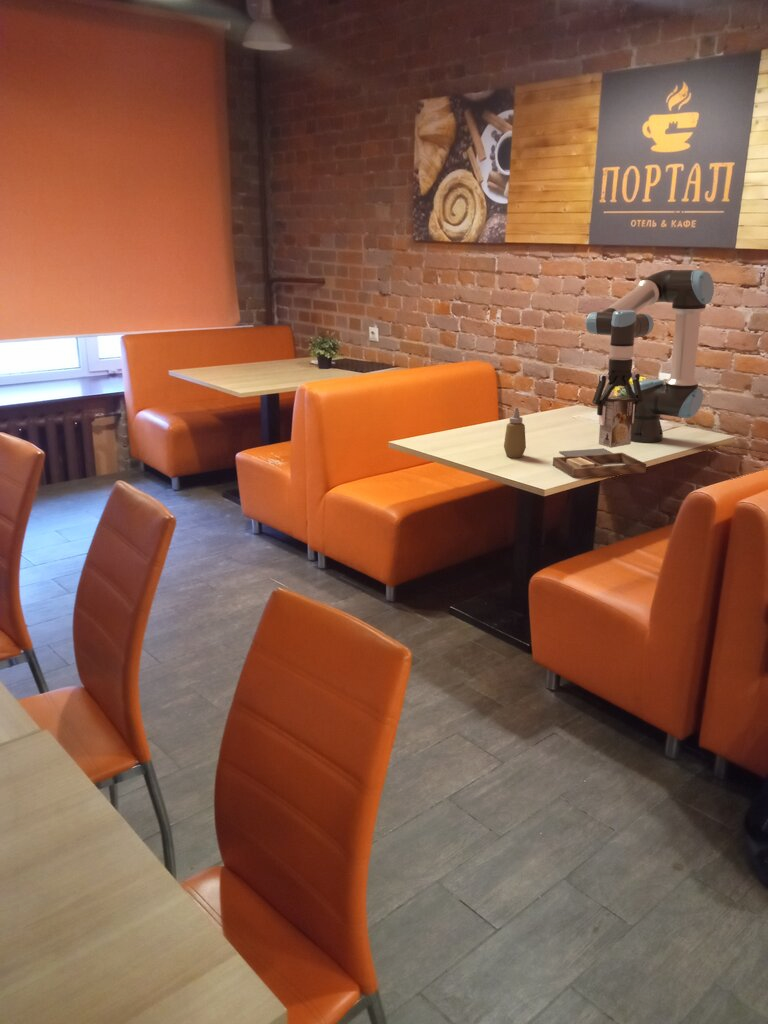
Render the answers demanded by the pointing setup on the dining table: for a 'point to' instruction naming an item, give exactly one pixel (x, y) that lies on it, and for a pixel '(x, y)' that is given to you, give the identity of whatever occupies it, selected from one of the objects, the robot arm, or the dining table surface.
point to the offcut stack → (580, 463)
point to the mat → (584, 452)
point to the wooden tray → (600, 470)
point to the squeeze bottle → (515, 436)
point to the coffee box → (617, 422)
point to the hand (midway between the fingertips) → (615, 423)
